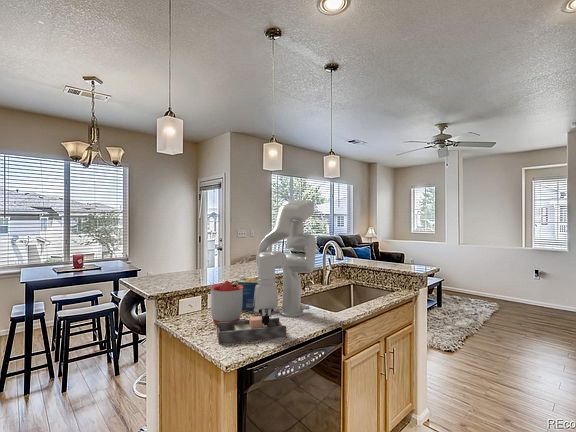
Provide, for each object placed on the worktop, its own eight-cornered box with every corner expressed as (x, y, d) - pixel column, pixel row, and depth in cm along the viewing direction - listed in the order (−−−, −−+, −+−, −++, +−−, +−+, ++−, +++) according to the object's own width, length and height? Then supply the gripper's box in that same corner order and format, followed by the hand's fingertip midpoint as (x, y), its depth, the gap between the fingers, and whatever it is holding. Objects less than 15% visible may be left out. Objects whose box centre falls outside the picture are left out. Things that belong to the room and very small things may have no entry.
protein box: (240, 304, 178) (241, 277, 178) (267, 305, 178) (267, 278, 178) (237, 310, 168) (237, 281, 168) (265, 311, 167) (265, 282, 167)
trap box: (278, 327, 143) (278, 317, 143) (286, 337, 132) (286, 326, 132) (216, 333, 135) (216, 322, 135) (218, 343, 123) (219, 332, 123)
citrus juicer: (249, 317, 156) (249, 277, 156) (234, 329, 140) (234, 285, 140) (221, 314, 161) (221, 275, 161) (203, 325, 144) (204, 282, 144)
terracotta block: (259, 325, 137) (259, 316, 137) (261, 328, 132) (261, 319, 132) (249, 326, 135) (249, 317, 135) (251, 330, 131) (251, 320, 131)
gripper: (280, 279, 141) (279, 320, 141) (247, 281, 136) (247, 322, 136) (285, 283, 134) (284, 325, 134) (251, 284, 129) (250, 328, 129)
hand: (265, 324), depth 135 cm, fingers closed
